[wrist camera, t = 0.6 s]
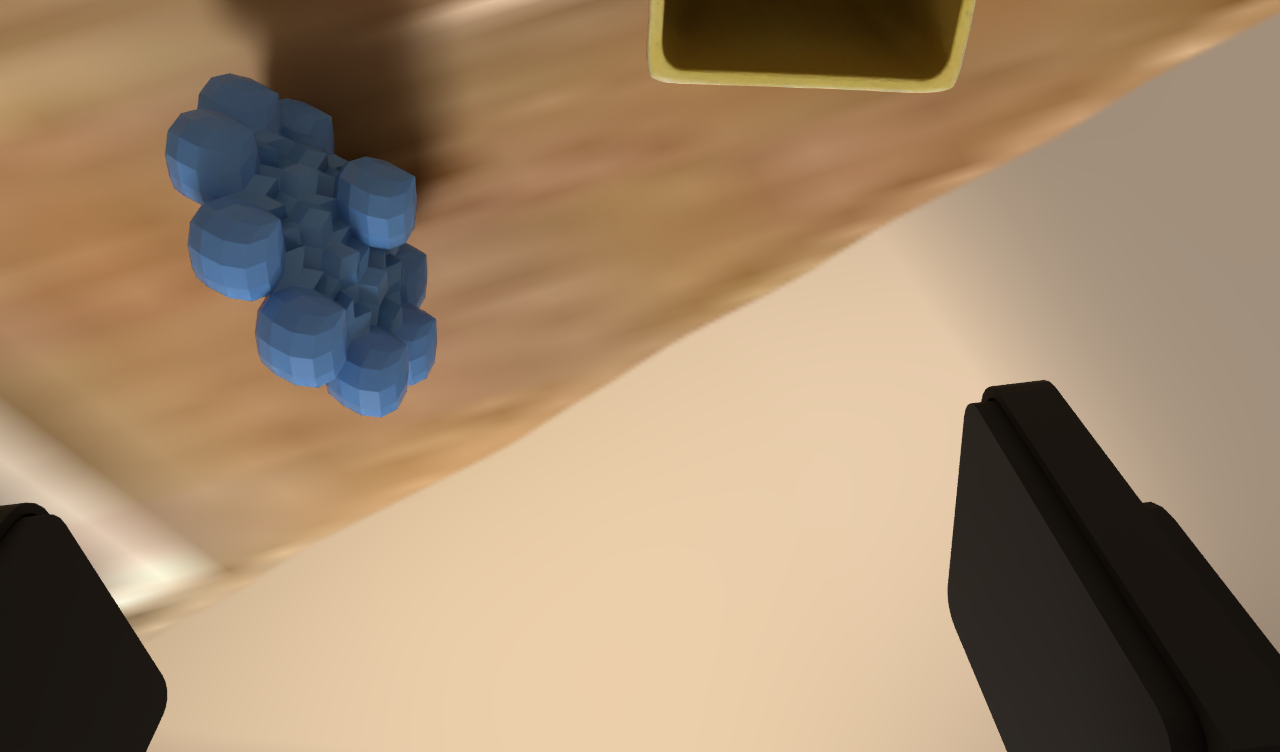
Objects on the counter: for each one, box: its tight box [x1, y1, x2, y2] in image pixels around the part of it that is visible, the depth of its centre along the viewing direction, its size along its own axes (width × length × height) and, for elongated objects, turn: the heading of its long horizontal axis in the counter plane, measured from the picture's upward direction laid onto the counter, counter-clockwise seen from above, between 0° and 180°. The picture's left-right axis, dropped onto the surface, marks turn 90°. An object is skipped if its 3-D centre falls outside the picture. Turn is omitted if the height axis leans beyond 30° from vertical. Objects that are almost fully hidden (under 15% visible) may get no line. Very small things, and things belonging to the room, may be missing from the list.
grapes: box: [165, 73, 437, 417], centre depth 30 cm, size 12×7×12 cm, turn 32°
